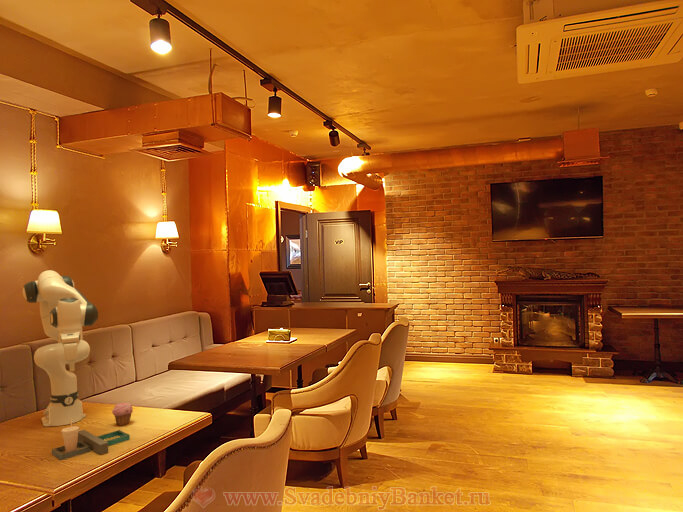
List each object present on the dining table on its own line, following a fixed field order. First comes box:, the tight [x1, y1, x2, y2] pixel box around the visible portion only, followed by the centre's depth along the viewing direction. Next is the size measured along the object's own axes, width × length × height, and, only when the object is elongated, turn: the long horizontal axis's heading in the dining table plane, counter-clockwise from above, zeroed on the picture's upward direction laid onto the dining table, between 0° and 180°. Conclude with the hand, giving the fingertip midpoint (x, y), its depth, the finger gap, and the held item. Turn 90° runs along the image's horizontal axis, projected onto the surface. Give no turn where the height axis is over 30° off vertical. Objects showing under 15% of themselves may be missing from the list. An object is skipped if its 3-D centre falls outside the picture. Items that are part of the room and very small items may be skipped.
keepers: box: [51, 429, 131, 461], centre depth 202 cm, size 10×27×2 cm, turn 137°
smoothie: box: [61, 418, 80, 453], centre depth 196 cm, size 6×6×14 cm
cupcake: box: [111, 402, 134, 426], centre depth 230 cm, size 9×9×10 cm
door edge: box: [77, 429, 109, 456], centre depth 202 cm, size 26×3×4 cm, turn 47°
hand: (72, 369), depth 201 cm, fingers open, 8 cm apart
